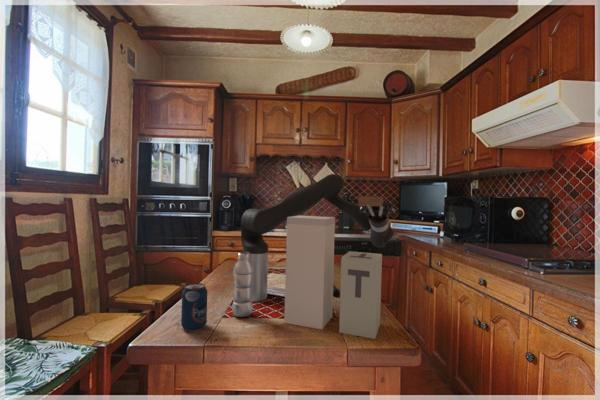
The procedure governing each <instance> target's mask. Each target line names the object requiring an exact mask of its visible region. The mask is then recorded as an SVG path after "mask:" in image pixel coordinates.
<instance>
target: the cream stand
mask: <svg viewBox="0 0 600 400" xmlns="http://www.w3.org/2000/svg"><path fill="white" fill-rule="evenodd" d="M335 231H336V217H335V216H319V215H318V216H317V215H316V216H315V215H296V216H292V217H287V220H286V246H285V247H286V248H285V249H286V250H285V251H286V252H285V278H284V279H285V282H284V283H285V285H284V286H285V287H284V314H283V315H284V316H283V317H284V321H283V322H284V323H285V324H289V325H294V326H299V327H300V326H301V327H304V328H305V327H306V328H311V329H317V330H323V329H324V328H325V327H326V325H327V324H328V323H329V321H330V320H331V319H332V318H333V305H334V303H333V300H334V296H333V285H334V269H335V268H334V266H335V233H336V232H335Z"/></svg>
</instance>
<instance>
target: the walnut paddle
mask: <svg viewBox="0 0 600 400" xmlns="http://www.w3.org/2000/svg"><path fill="white" fill-rule="evenodd" d="M357 200H358V203H357V205H358V206H383V201H384V197H383V196H381V197H379V196H371V197H369V196H359V195H358V199H357Z"/></svg>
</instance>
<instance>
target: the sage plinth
mask: <svg viewBox="0 0 600 400" xmlns="http://www.w3.org/2000/svg"><path fill="white" fill-rule="evenodd" d="M382 265H383V254H382V253H376V252H375V253H372V252H361V251H360V252H359V251H353V250H352V251H350V250H349V251H348V252H347V253H345V254H344V255H343V256H341V262H340V266H341V267H340V290H339V295H340V297H339V323H338V324H339V325H338V327H339V328H338V330H339V332H338V333H340V334H345V335H351V336H355V337H361V338H367V339H373V340H376V338H377V335H378V332H379V328H380V325H381V304H382V303H381V301H382V300H381V299H382V267H383V266H382Z"/></svg>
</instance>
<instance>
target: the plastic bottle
mask: <svg viewBox="0 0 600 400" xmlns="http://www.w3.org/2000/svg"><path fill="white" fill-rule="evenodd" d="M237 253H238V254H237V259H238V260H237V261H236V263H235V264H234V266H233V269H232V271H233V280H234V282H233V283H234V284H233V285H234V294H233V300H232V301H233V302H232V306H231V309H232V314H233V315H234V316H235V317H237V318H245V317H246V318H247V317H249V316H251V314H252V313H253V308H254V307H253V301H252V297H251V285H252V277H253V266H252V264H251V263H250V261H249V259H250V257H249V255H250V253H249V252H243V251H239V252H237Z"/></svg>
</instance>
